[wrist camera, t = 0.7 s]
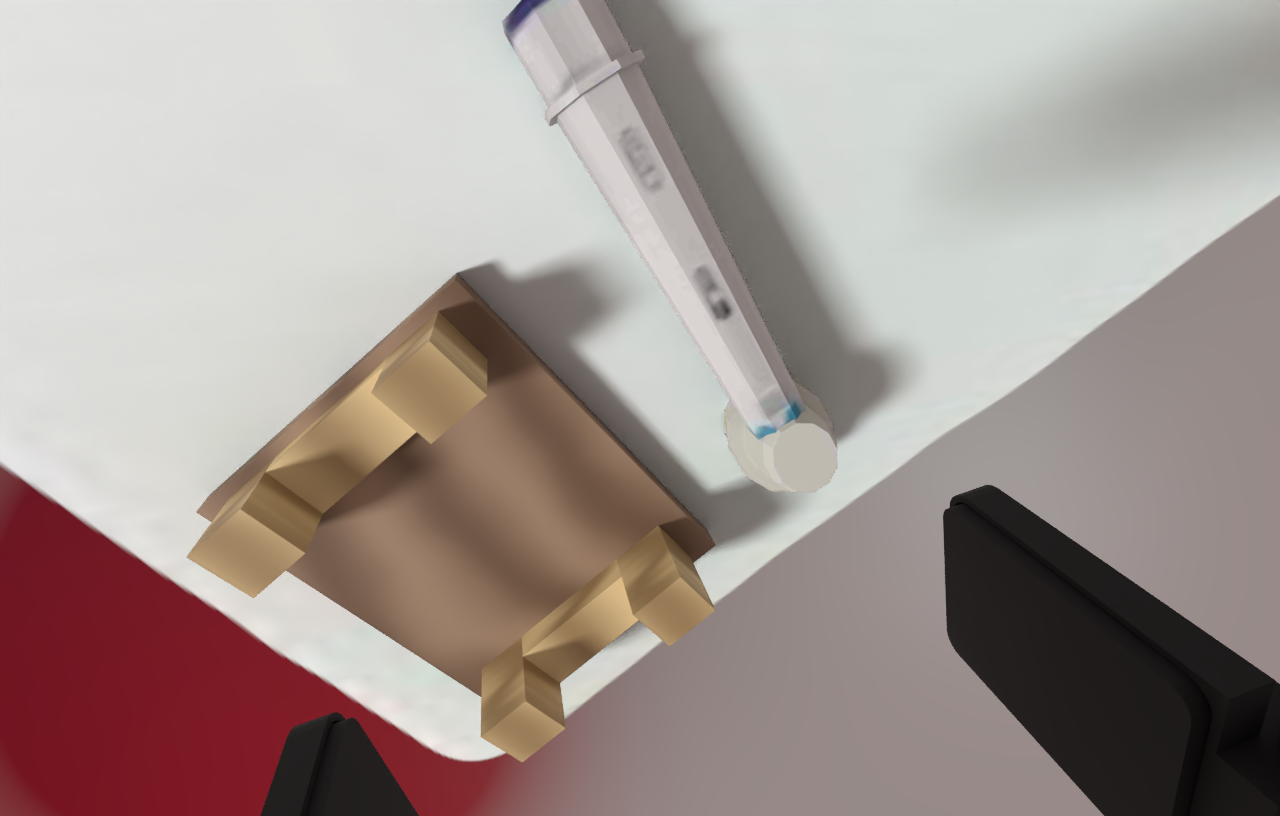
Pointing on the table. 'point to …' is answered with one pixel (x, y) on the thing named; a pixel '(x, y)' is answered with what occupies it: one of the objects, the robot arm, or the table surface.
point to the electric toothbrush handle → (672, 232)
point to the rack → (465, 516)
